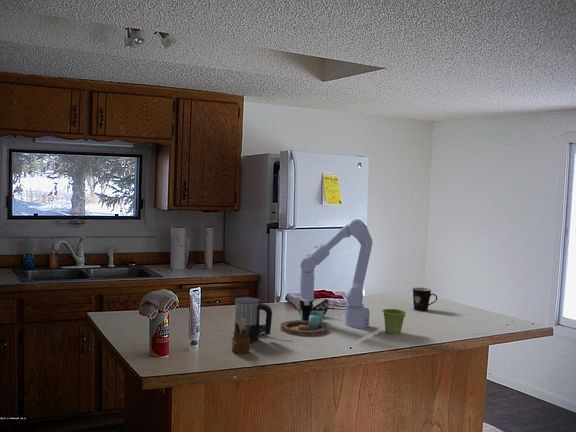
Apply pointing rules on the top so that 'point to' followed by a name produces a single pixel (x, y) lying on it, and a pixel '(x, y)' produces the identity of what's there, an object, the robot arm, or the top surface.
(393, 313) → the plant pot
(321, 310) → the food container
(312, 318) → the seated bead
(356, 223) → the robot arm
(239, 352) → the brown bottle
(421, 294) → the coffee mug
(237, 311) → the milk frother
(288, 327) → the groove tray
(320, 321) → the loose bead
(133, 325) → the top surface
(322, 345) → the top surface
